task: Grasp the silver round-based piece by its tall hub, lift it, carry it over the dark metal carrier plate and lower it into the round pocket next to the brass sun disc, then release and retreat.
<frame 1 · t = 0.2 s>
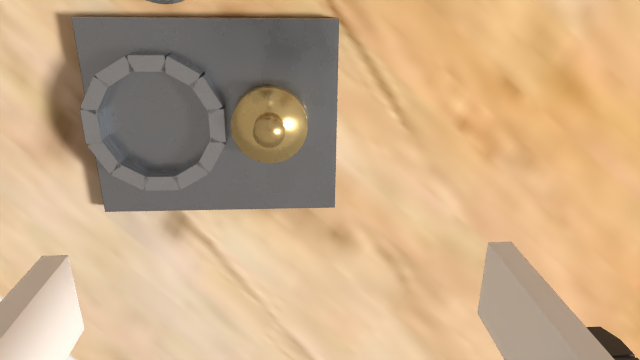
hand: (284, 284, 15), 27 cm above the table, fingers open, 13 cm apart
carrier: (217, 117, 41), on the table
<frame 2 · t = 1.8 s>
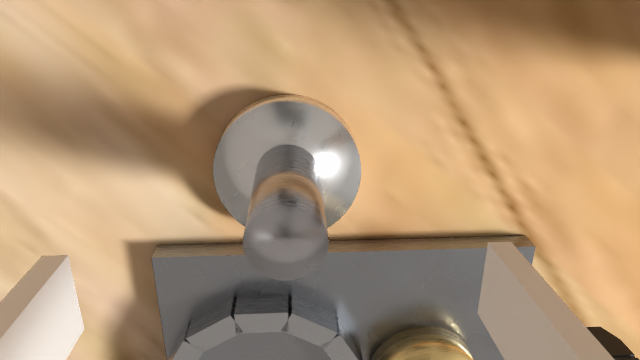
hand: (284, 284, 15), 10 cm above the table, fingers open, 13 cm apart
carrier: (342, 355, 29), on the table
silver round-based piece: (287, 163, 24), on the table
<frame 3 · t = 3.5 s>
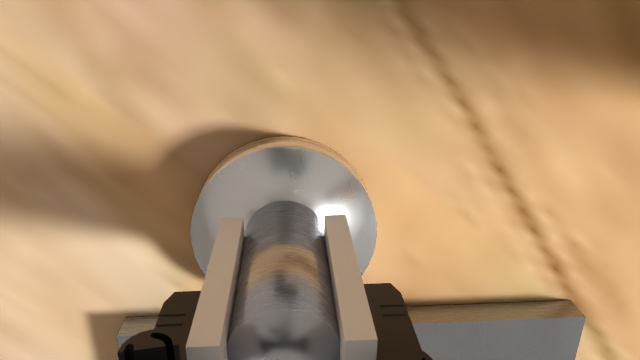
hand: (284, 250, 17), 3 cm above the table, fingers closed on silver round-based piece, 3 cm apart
silver round-based piece: (284, 219, 20), on the table, touching gripper
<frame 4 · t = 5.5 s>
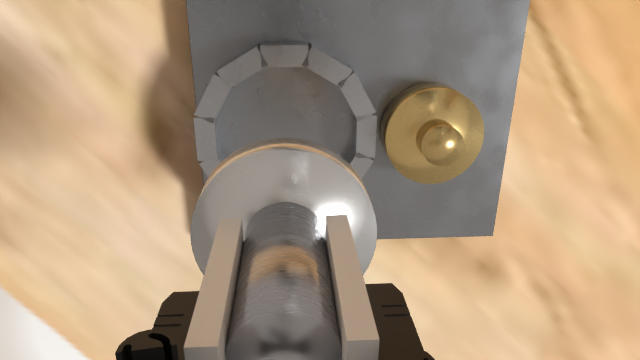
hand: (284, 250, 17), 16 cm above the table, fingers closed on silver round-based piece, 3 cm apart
carrier: (354, 124, 32), on the table
silver round-based piece: (285, 220, 20), point 13 cm above the table, touching gripper
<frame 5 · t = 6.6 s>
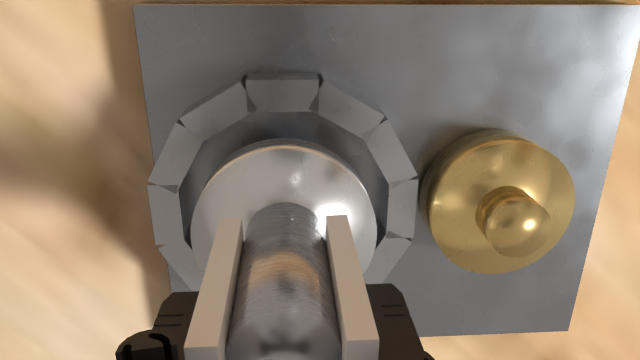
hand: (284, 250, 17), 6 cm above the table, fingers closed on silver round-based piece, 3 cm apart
carrier: (381, 184, 23), on the table
silver round-based piece: (285, 220, 20), point 3 cm above the table, touching gripper
when the fingers open (5 cm above the table, at t = 7.5 s): silver round-based piece drops 1 cm, resting on carrier.
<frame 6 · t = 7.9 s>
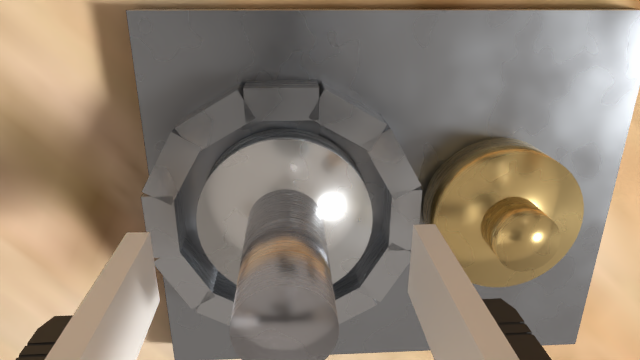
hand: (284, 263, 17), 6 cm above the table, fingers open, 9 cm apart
carrier: (383, 194, 22), on the table
silver round-based piece: (285, 207, 21), point 1 cm above the table, touching carrier
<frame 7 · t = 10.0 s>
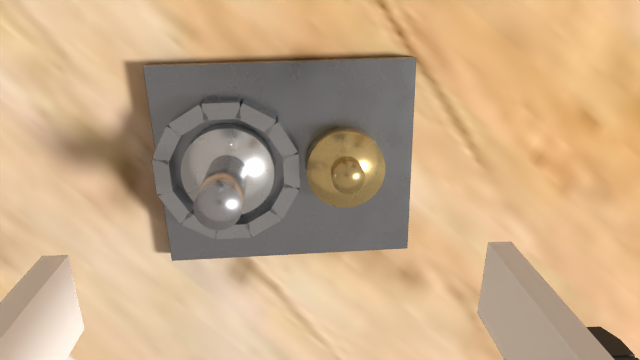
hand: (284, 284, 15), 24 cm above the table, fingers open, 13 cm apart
carrier: (286, 160, 39), on the table
silver round-based piece: (229, 167, 38), point 1 cm above the table, touching carrier
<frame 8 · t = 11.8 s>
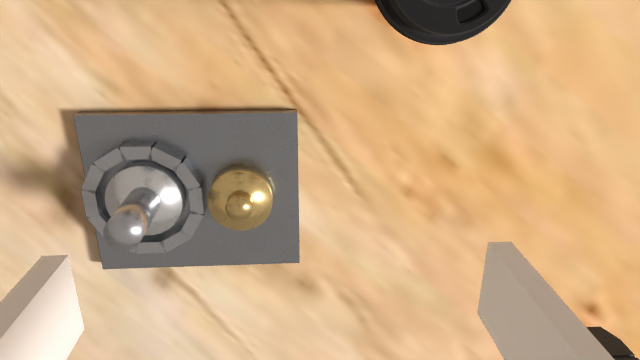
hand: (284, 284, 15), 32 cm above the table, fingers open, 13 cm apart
carrier: (197, 189, 48), on the table
silver round-based piece: (147, 195, 46), point 1 cm above the table, touching carrier
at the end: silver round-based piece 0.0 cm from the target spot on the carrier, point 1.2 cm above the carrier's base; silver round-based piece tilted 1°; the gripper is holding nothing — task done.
